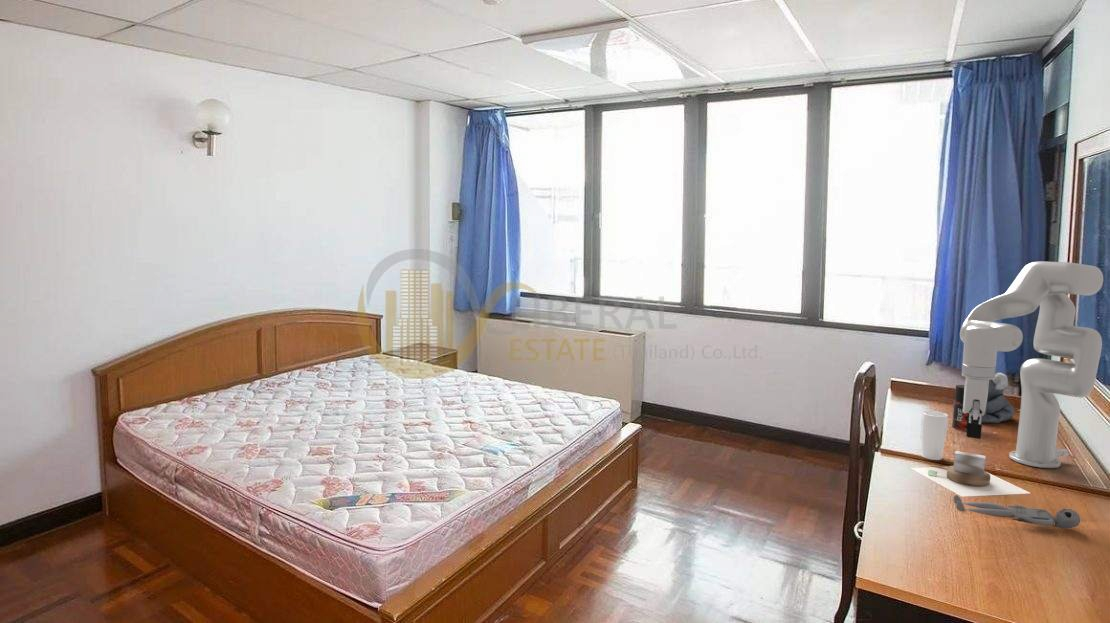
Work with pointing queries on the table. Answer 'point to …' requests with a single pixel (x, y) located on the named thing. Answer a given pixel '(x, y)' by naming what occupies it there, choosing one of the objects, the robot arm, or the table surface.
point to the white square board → (994, 488)
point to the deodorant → (959, 409)
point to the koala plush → (997, 401)
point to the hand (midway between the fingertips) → (973, 432)
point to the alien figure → (1025, 513)
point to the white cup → (933, 434)
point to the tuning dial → (968, 469)
